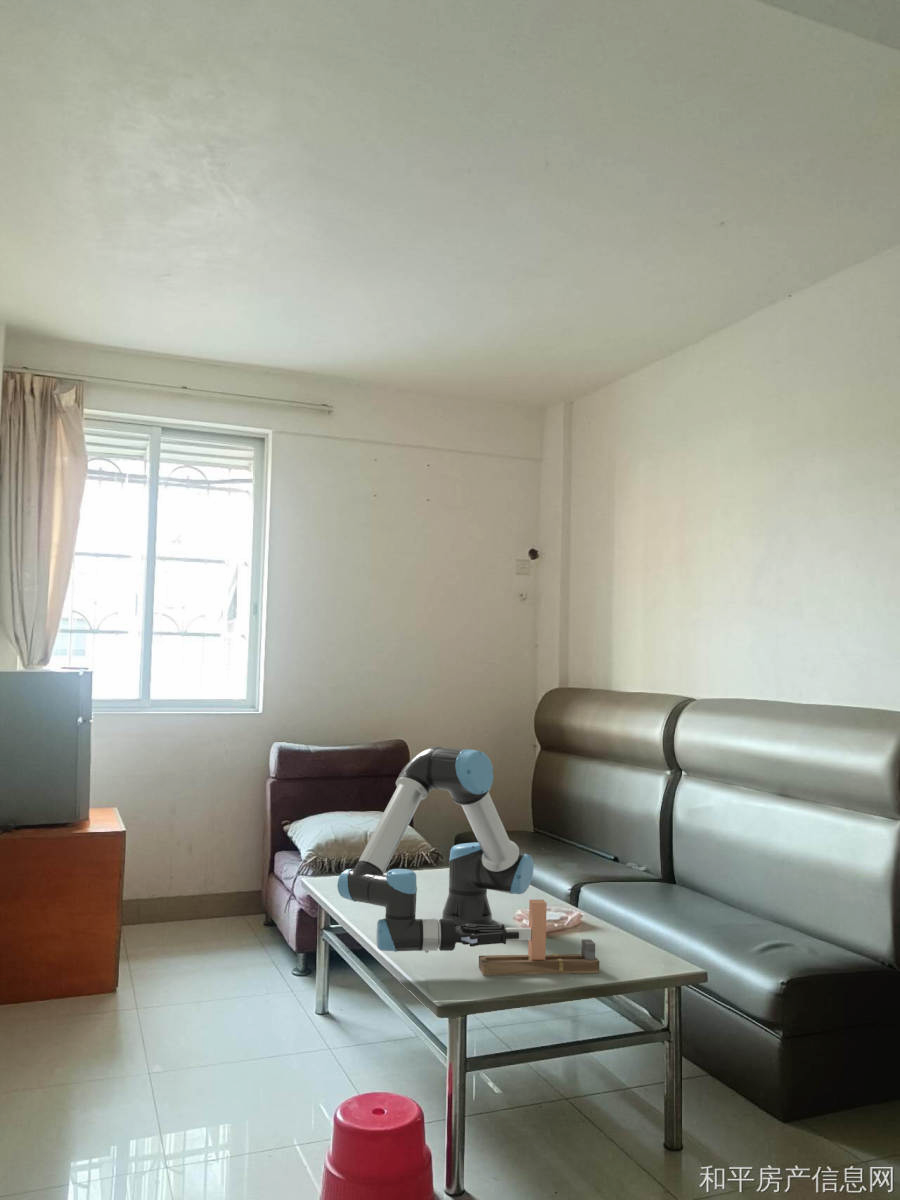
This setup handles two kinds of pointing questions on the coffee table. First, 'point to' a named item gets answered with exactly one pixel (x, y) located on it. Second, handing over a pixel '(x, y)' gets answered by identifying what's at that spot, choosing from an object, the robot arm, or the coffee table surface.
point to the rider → (537, 930)
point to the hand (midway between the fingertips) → (530, 933)
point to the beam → (542, 963)
